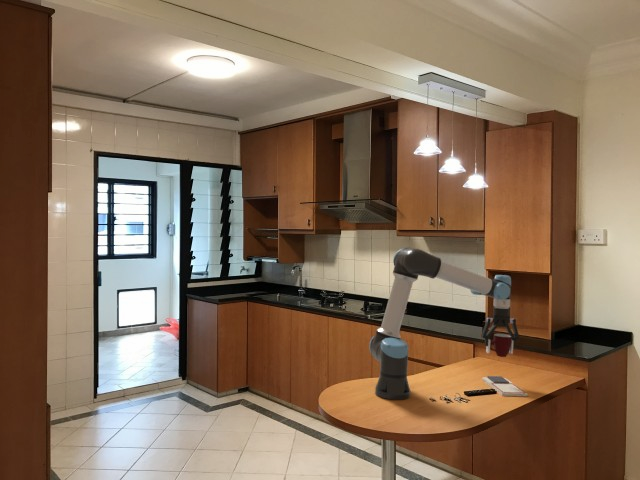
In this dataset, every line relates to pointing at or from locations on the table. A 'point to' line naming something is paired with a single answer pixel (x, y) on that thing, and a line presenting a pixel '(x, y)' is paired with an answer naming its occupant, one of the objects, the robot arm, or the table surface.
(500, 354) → the mug
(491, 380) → the board
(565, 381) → the table surface
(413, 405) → the table surface
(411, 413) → the table surface
